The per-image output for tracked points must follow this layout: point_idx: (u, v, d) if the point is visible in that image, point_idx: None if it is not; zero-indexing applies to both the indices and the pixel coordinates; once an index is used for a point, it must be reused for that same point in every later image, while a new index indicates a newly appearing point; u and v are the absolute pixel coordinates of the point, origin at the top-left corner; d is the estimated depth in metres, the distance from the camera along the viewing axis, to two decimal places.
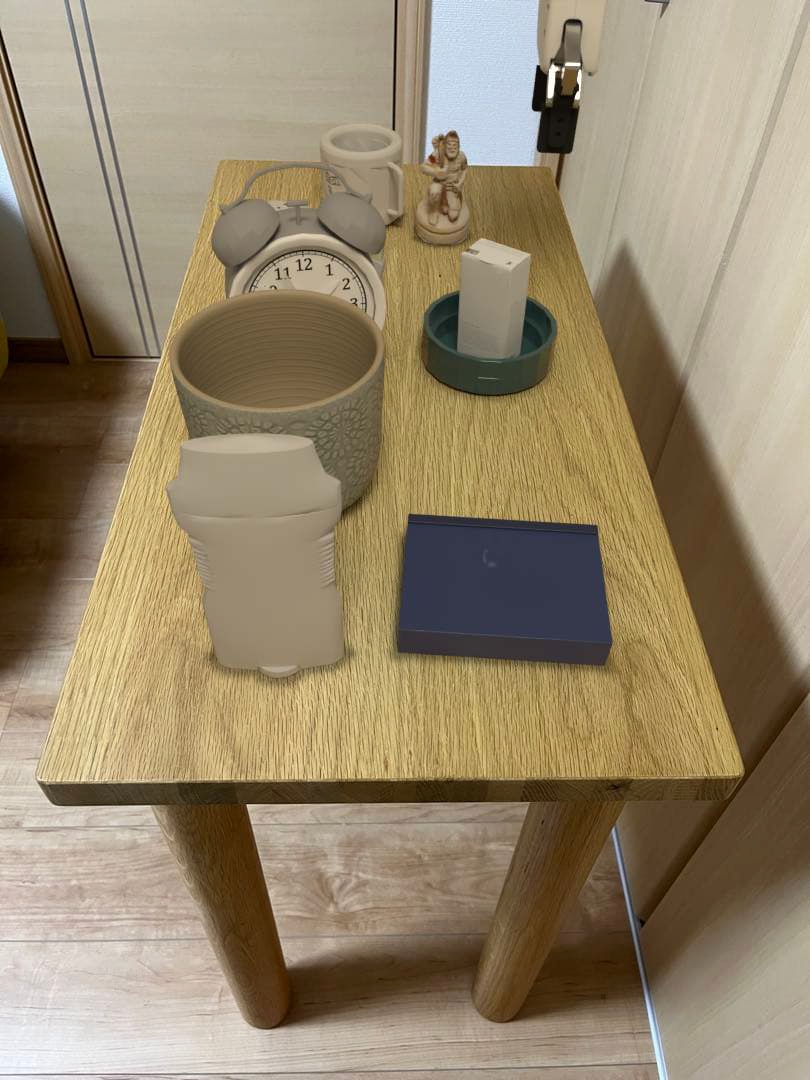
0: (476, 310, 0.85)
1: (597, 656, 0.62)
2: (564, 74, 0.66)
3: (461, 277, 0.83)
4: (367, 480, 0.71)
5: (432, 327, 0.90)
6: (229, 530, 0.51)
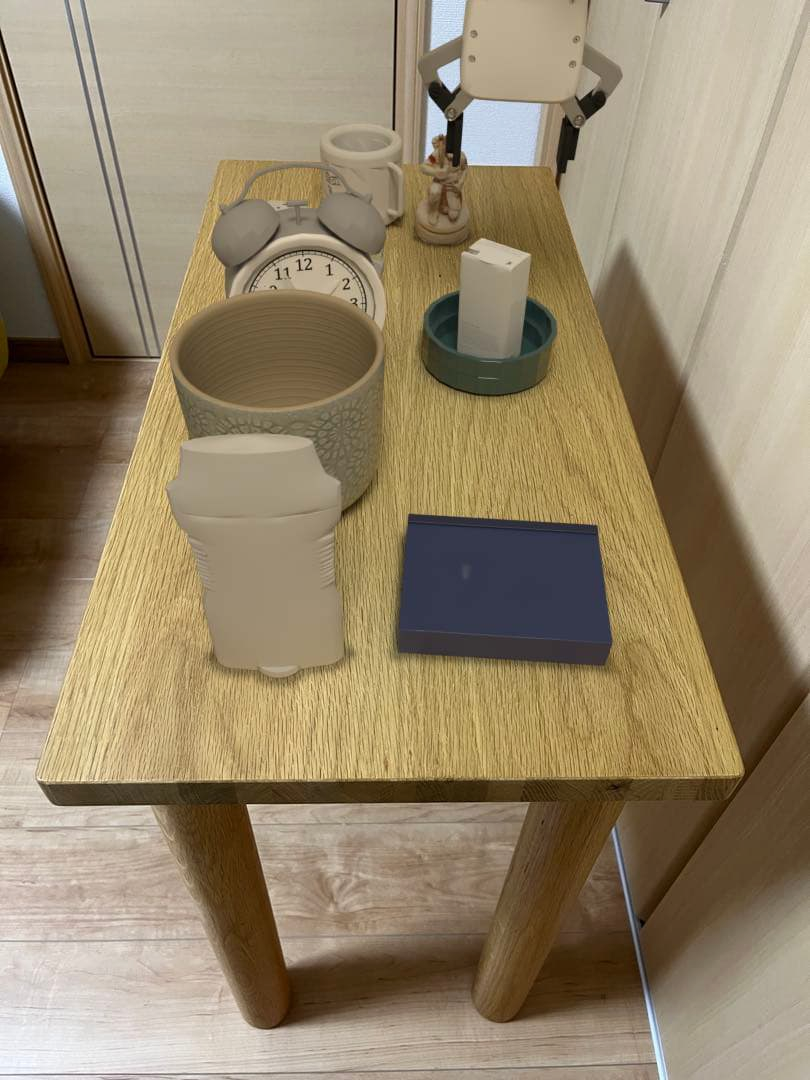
0: (476, 310, 0.85)
1: (597, 656, 0.62)
2: (618, 83, 0.69)
3: (461, 277, 0.83)
4: (367, 480, 0.71)
5: (432, 327, 0.90)
6: (229, 530, 0.51)
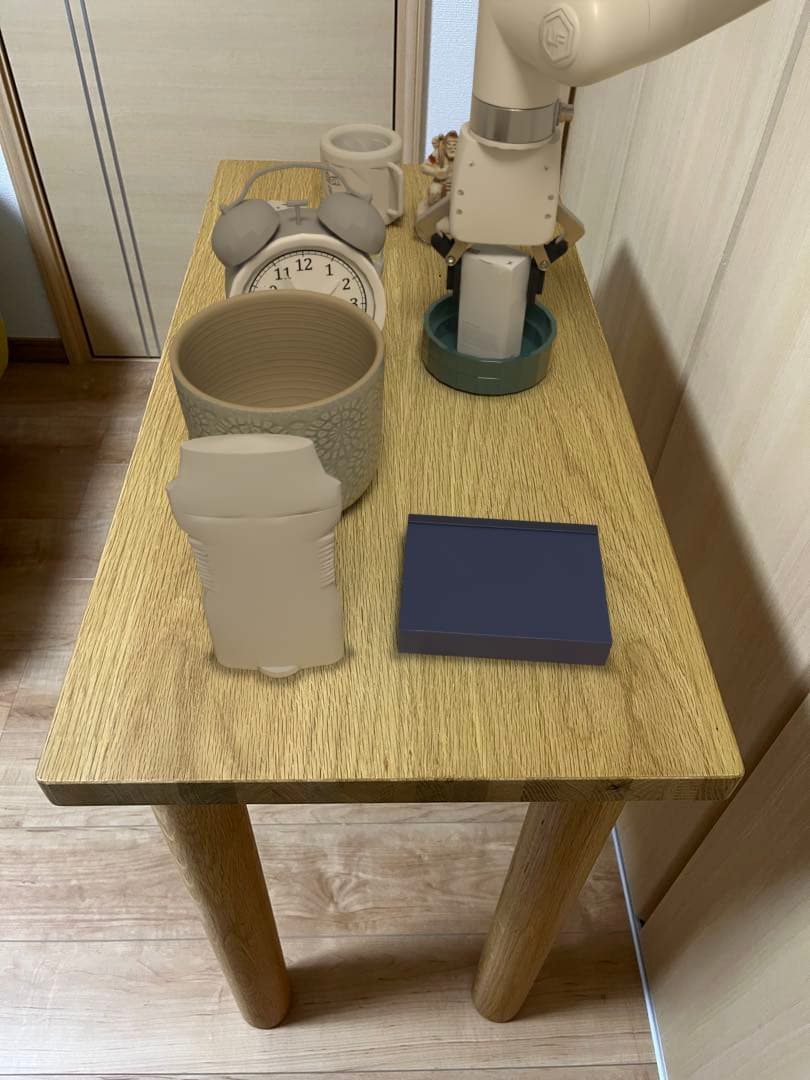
0: (476, 310, 0.85)
1: (597, 656, 0.62)
2: (580, 237, 0.79)
3: (462, 277, 0.83)
4: (367, 480, 0.71)
5: (432, 327, 0.90)
6: (229, 530, 0.51)
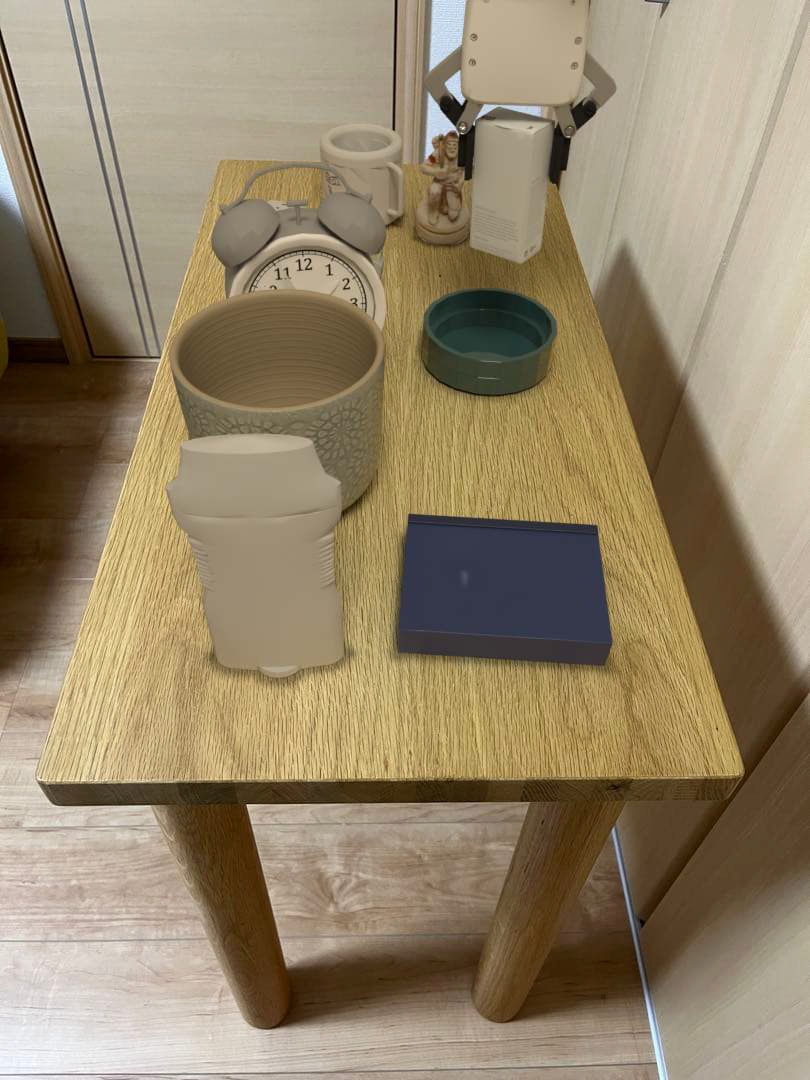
0: (491, 190, 0.75)
1: (597, 656, 0.62)
2: (610, 96, 0.69)
3: (475, 150, 0.73)
4: (367, 480, 0.71)
5: (432, 327, 0.90)
6: (229, 530, 0.51)
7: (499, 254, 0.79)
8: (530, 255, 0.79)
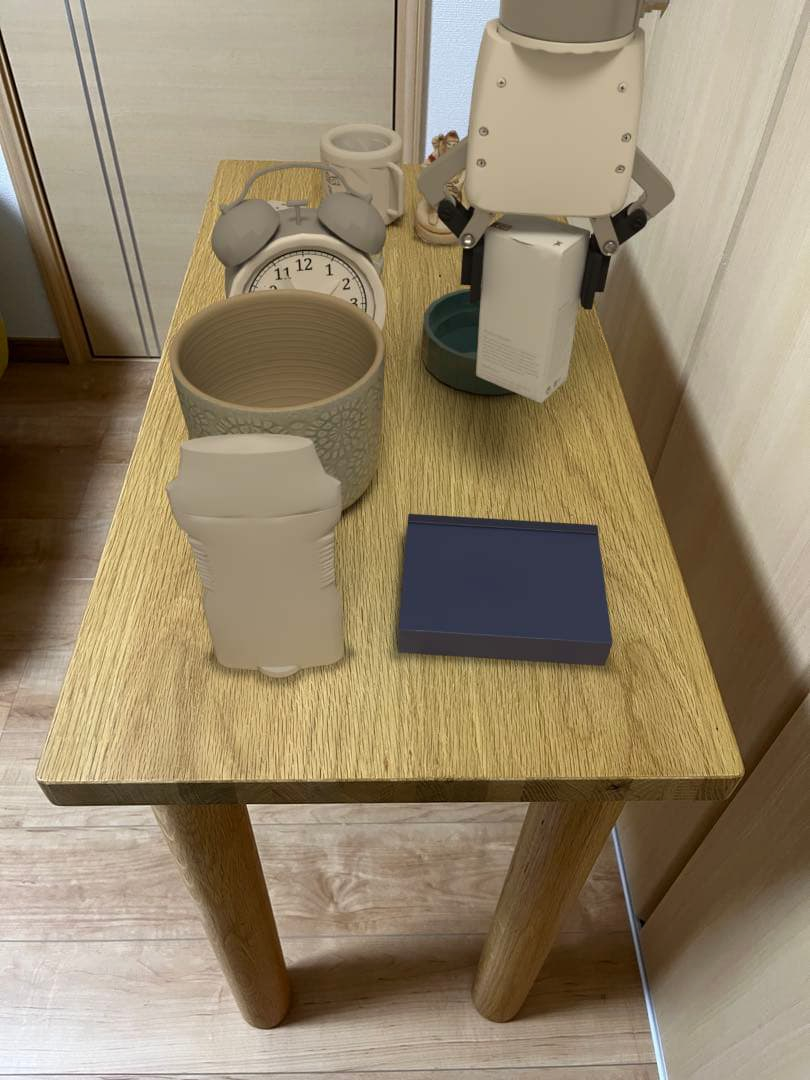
0: (505, 315, 0.57)
1: (597, 656, 0.62)
2: (666, 204, 0.52)
3: (484, 265, 0.56)
4: (367, 480, 0.71)
5: (432, 327, 0.90)
6: (229, 530, 0.51)
7: (514, 389, 0.61)
8: (553, 390, 0.61)
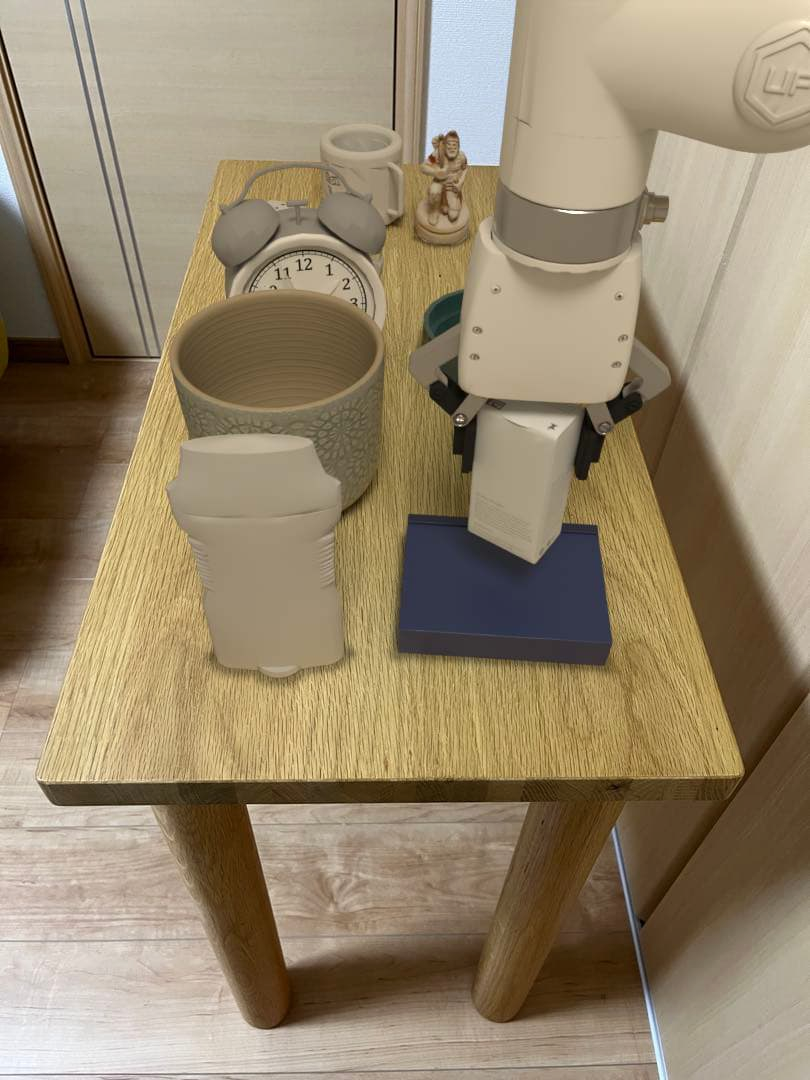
0: (498, 484, 0.56)
1: (597, 656, 0.62)
2: (662, 389, 0.51)
3: (477, 438, 0.55)
4: (367, 480, 0.71)
5: (432, 327, 0.90)
6: (229, 530, 0.51)
7: (507, 548, 0.60)
8: (547, 548, 0.60)
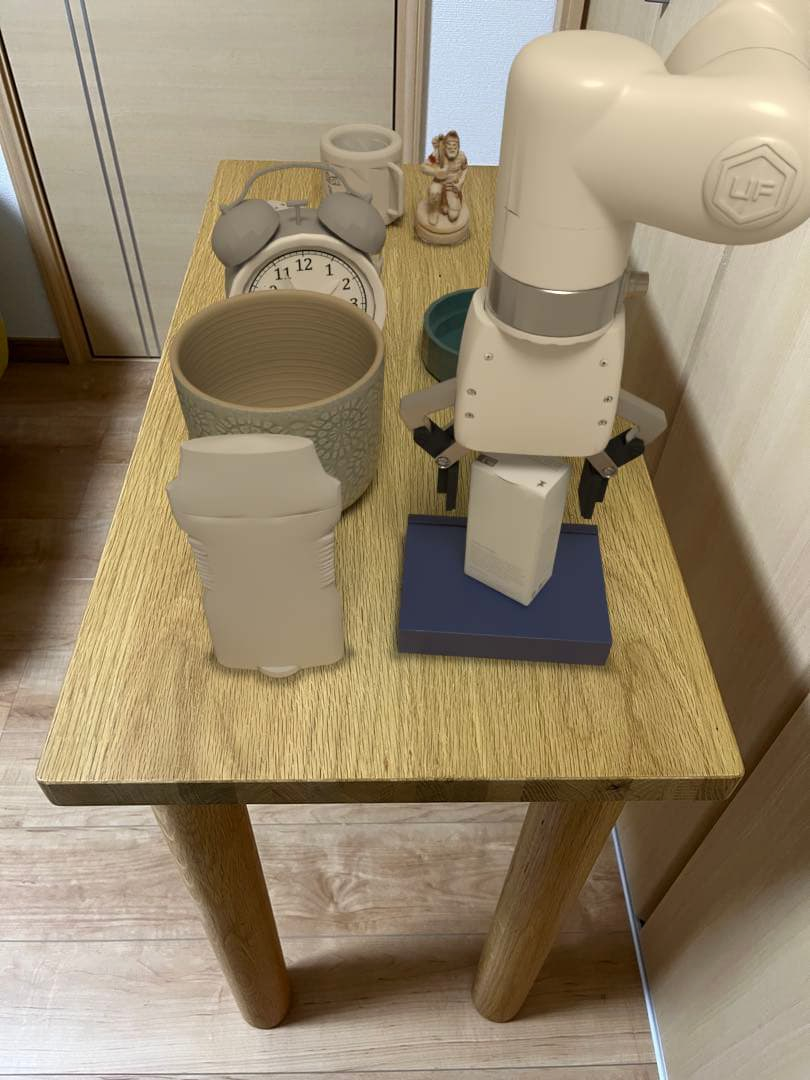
0: (491, 533, 0.60)
1: (597, 656, 0.62)
2: (661, 432, 0.53)
3: (471, 491, 0.58)
4: (367, 480, 0.71)
5: (432, 327, 0.90)
6: (229, 530, 0.51)
7: (501, 591, 0.64)
8: (538, 591, 0.64)
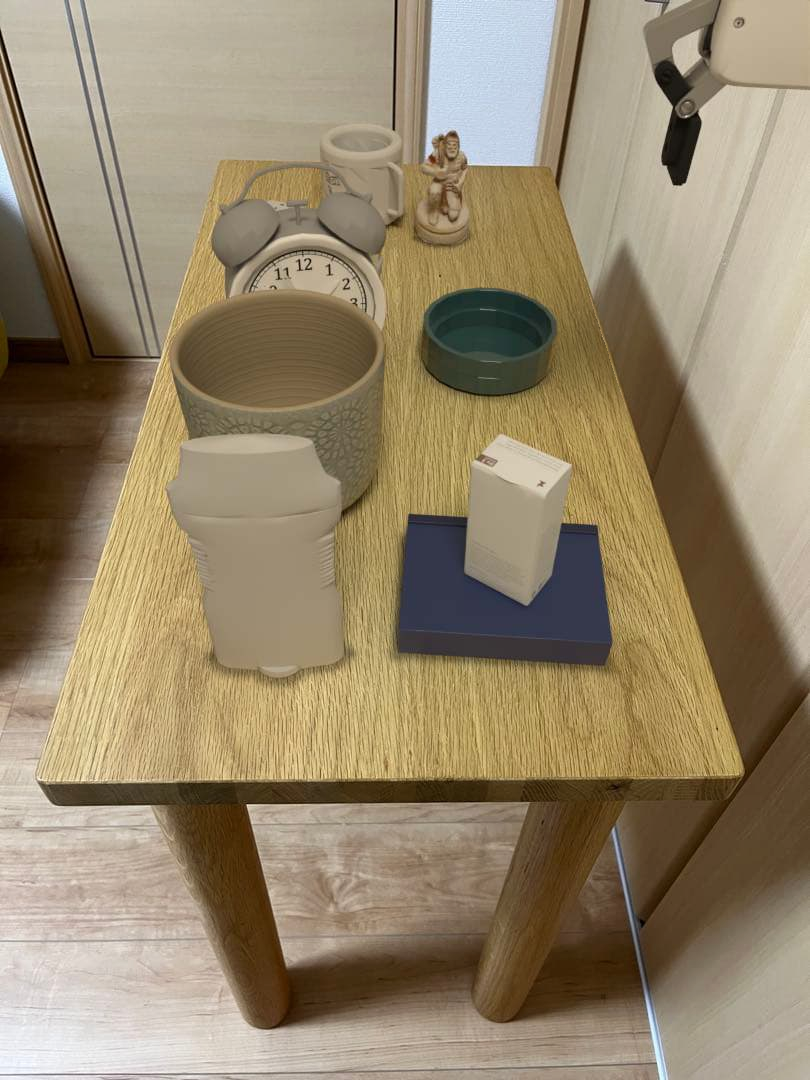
0: (491, 533, 0.60)
1: (597, 656, 0.62)
2: None
3: (471, 491, 0.58)
4: (367, 480, 0.71)
5: (432, 327, 0.90)
6: (229, 530, 0.51)
7: (501, 591, 0.64)
8: (538, 591, 0.64)
